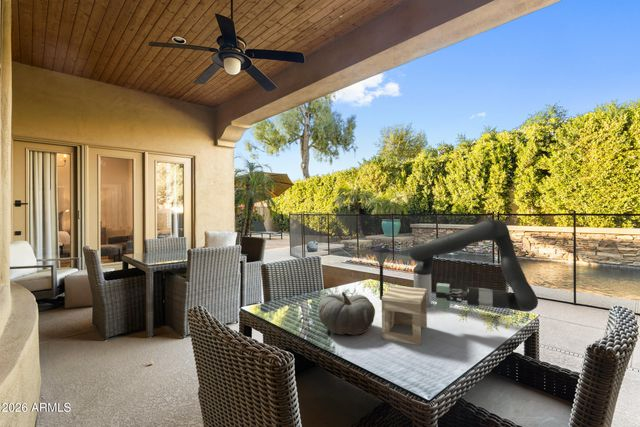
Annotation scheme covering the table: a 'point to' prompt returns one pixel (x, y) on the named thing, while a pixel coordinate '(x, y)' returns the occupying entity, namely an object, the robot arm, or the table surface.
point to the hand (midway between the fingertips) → (436, 293)
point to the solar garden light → (381, 263)
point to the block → (443, 302)
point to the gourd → (346, 313)
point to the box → (404, 313)
